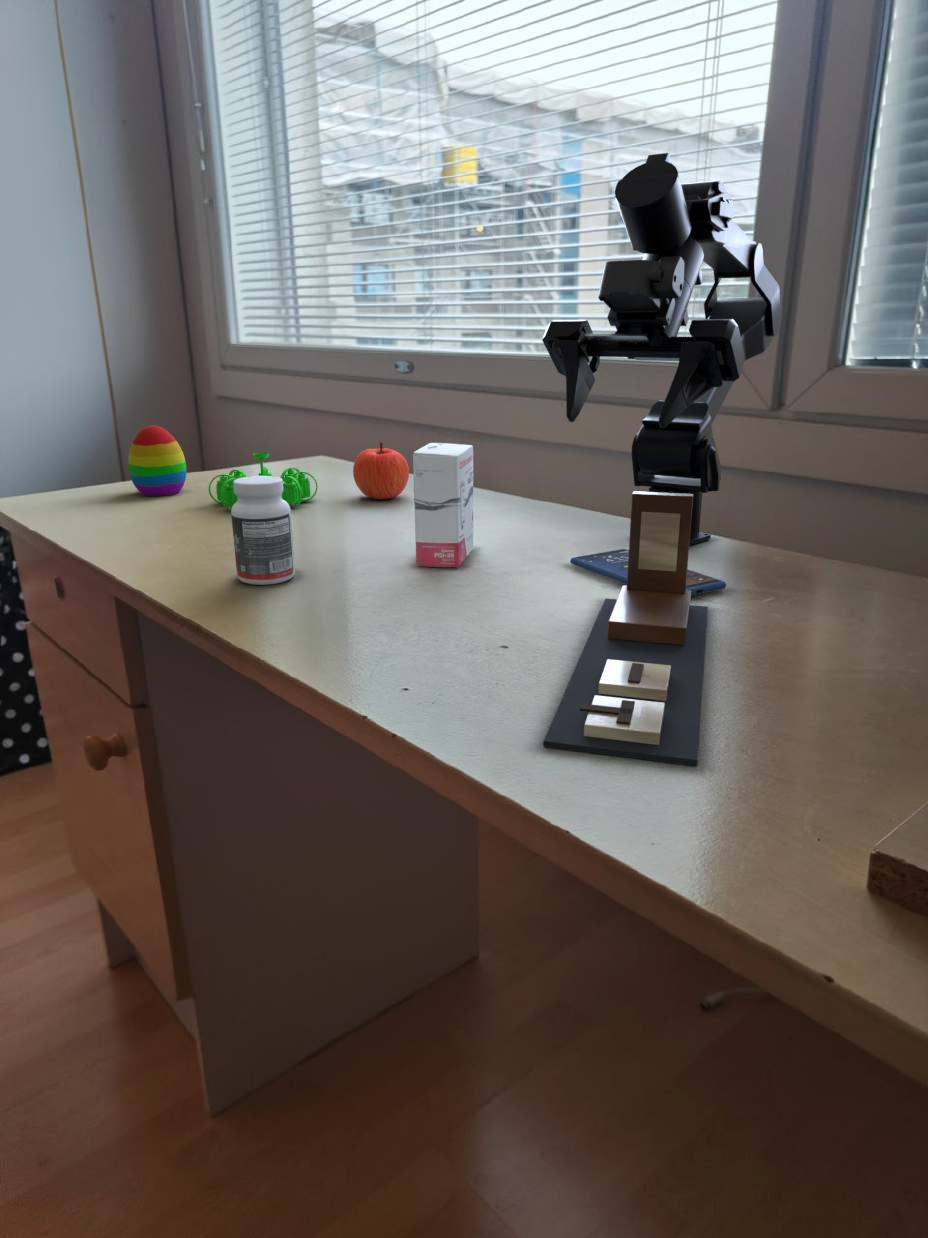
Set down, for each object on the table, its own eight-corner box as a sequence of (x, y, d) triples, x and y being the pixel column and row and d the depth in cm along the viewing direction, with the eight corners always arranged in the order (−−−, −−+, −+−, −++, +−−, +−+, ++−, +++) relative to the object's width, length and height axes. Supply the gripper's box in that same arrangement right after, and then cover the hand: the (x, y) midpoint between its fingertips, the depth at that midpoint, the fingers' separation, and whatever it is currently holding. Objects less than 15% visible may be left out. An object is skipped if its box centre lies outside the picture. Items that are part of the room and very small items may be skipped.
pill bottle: (242, 570, 89) (233, 475, 86) (298, 569, 89) (291, 473, 86) (233, 587, 83) (223, 485, 80) (292, 585, 84) (284, 484, 81)
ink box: (459, 569, 89) (458, 454, 85) (413, 567, 90) (410, 453, 86) (475, 548, 97) (474, 442, 93) (432, 546, 98) (430, 441, 94)
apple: (361, 491, 129) (359, 438, 127) (414, 492, 128) (412, 438, 125) (347, 502, 122) (344, 445, 119) (403, 503, 121) (401, 446, 118)
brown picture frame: (621, 601, 77) (627, 490, 74) (690, 606, 76) (699, 493, 72) (607, 639, 68) (613, 515, 65) (685, 646, 67) (695, 519, 63)
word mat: (605, 602, 78) (605, 588, 78) (707, 610, 76) (708, 595, 75) (543, 747, 52) (543, 726, 51) (696, 766, 50) (698, 745, 49)
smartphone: (669, 594, 77) (568, 557, 89) (668, 602, 77) (567, 564, 90) (729, 581, 81) (624, 547, 93) (728, 589, 81) (624, 554, 93)
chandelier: (268, 489, 132) (265, 443, 130) (340, 499, 123) (337, 451, 121) (187, 505, 120) (181, 456, 118) (260, 518, 112) (255, 465, 110)
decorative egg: (139, 488, 133) (130, 422, 130) (193, 487, 134) (186, 421, 131) (125, 498, 125) (116, 429, 122) (183, 497, 126) (175, 428, 123)
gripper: (550, 231, 83) (495, 364, 78) (746, 218, 73) (695, 368, 69) (584, 312, 92) (537, 435, 87) (762, 310, 82) (719, 448, 78)
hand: (614, 422), depth 80 cm, fingers open, 9 cm apart
